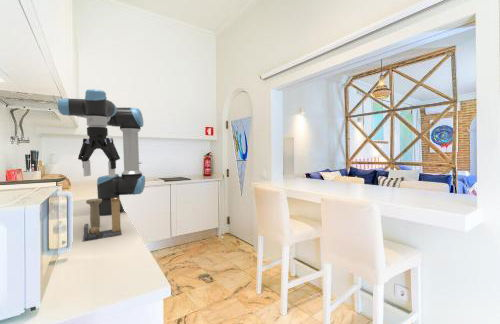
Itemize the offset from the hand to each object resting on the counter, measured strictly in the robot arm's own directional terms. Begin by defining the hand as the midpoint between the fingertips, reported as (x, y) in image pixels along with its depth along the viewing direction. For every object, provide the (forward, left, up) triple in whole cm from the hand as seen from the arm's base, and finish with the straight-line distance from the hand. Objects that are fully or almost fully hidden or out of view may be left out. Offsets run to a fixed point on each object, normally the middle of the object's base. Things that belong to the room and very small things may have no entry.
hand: (99, 176), depth 106 cm
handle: (-12, -8, -28) cm, 31 cm away
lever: (-3, +5, -26) cm, 26 cm away
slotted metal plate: (-1, 0, -28) cm, 28 cm away
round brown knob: (0, -3, -26) cm, 26 cm away
